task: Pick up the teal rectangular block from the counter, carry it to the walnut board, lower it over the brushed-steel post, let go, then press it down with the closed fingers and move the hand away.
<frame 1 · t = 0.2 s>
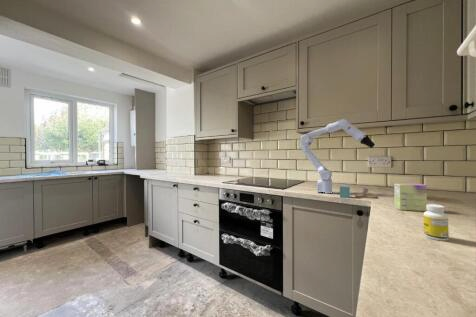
hand: (373, 146, 126), 31 cm above the worktop, tool tilted 45°, fingers open, 7 cm apart
box: (410, 209, 94), on the worktop
teal rectangular block: (344, 197, 125), on the worktop
supplement bottle: (435, 238, 62), on the worktop
post board: (365, 196, 126), on the worktop
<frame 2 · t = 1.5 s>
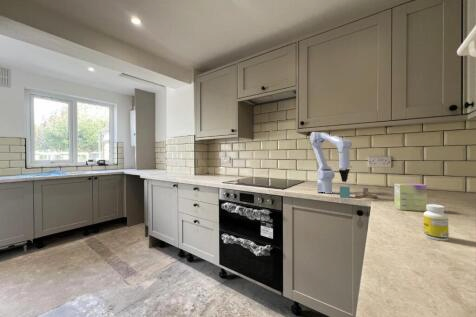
hand: (344, 181, 125), 10 cm above the worktop, tool pointing down, fingers open, 7 cm apart
nothing on the worktop moved.
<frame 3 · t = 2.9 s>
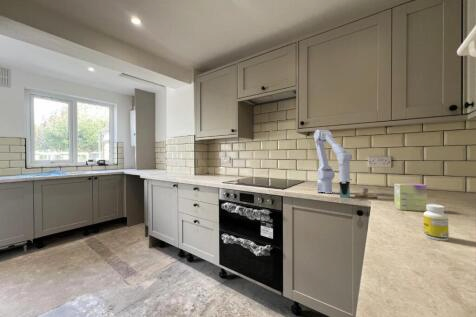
hand: (344, 193, 125), 2 cm above the worktop, tool pointing down, fingers closed on teal rectangular block, 5 cm apart
teal rectangular block: (344, 197, 125), on the worktop, touching gripper
everything else where it was.
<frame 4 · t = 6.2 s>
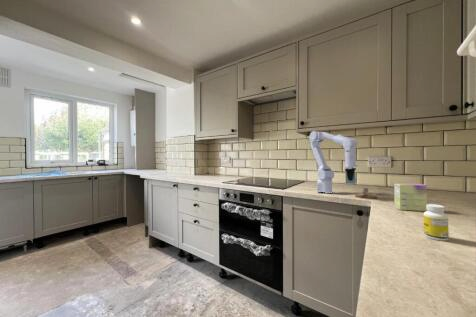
hand: (350, 179, 125), 10 cm above the worktop, tool pointing down, fingers closed on teal rectangular block, 5 cm apart
teal rectangular block: (350, 183, 125), point 8 cm above the worktop, touching gripper
everything else where it was.
when the fingers open (4 cm above the worktop, at t = 9.6 s): teal rectangular block stays where it is, resting on post board.
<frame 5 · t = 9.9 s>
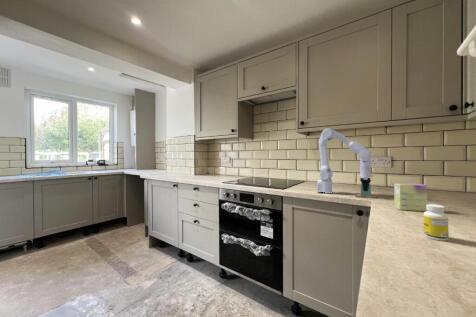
hand: (365, 190, 126), 4 cm above the worktop, tool pointing down, fingers open, 7 cm apart
teal rectangular block: (365, 194, 126), point 1 cm above the worktop, touching post board
everything else where it was.
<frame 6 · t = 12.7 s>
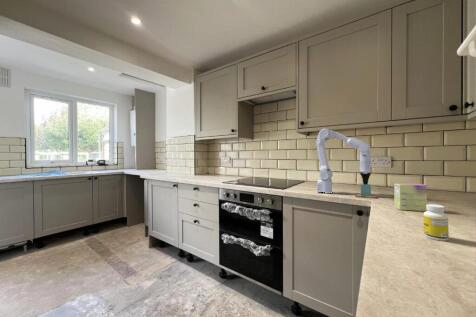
hand: (365, 184, 126), 7 cm above the worktop, tool pointing down, fingers closed, pressing on teal rectangular block
teal rectangular block: (365, 194, 126), point 1 cm above the worktop, touching gripper, post board
everything else where it was.
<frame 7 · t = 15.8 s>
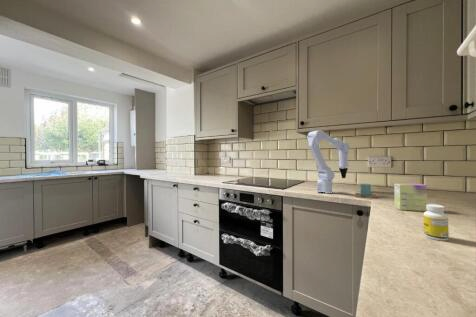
hand: (343, 178, 146), 9 cm above the worktop, tool pointing down, fingers closed
teal rectangular block: (365, 194, 126), point 1 cm above the worktop, touching post board
everything else where it was.
at the end: teal rectangular block 0.0 cm from the post board (horizontally); teal rectangular block point 0.8 cm above the worktop; teal rectangular block tilted 0° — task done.
